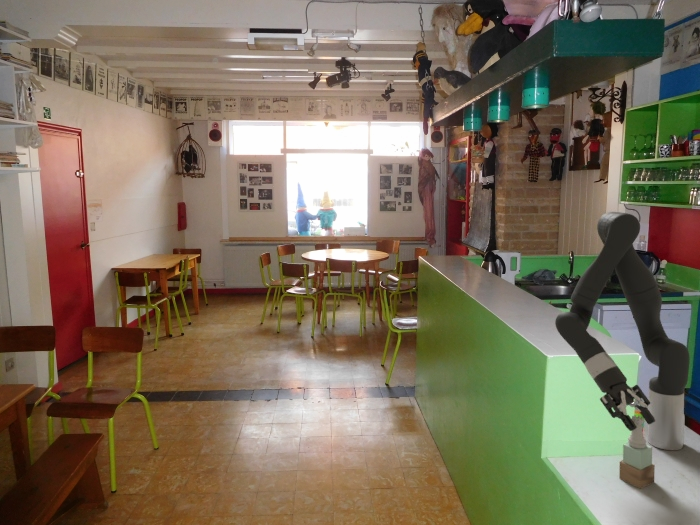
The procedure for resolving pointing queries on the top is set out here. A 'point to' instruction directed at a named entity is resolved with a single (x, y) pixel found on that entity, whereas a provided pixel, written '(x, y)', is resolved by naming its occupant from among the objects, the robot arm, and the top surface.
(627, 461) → the sage top block
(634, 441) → the rook chess piece
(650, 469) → the walnut base block
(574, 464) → the top surface
